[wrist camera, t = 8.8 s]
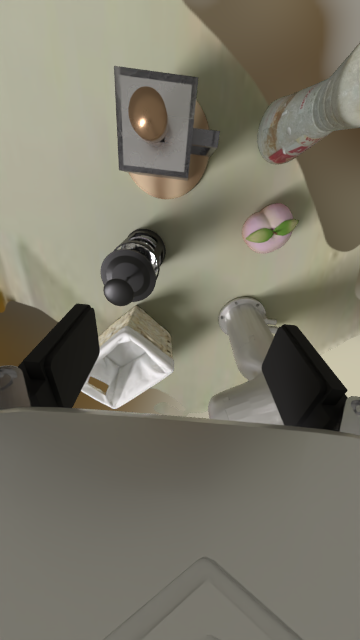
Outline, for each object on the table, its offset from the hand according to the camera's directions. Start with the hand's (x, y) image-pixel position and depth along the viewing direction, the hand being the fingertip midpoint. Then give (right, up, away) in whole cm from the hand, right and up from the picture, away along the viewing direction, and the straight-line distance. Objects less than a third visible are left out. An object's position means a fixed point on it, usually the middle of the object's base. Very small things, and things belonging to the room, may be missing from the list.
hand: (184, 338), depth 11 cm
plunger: (-3, +31, +25) cm, 40 cm away
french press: (-9, +17, +37) cm, 42 cm away
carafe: (-1, +32, +27) cm, 41 cm away
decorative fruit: (+17, +21, +34) cm, 44 cm away
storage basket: (-15, -5, +52) cm, 54 cm away
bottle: (+17, +34, +26) cm, 46 cm away
